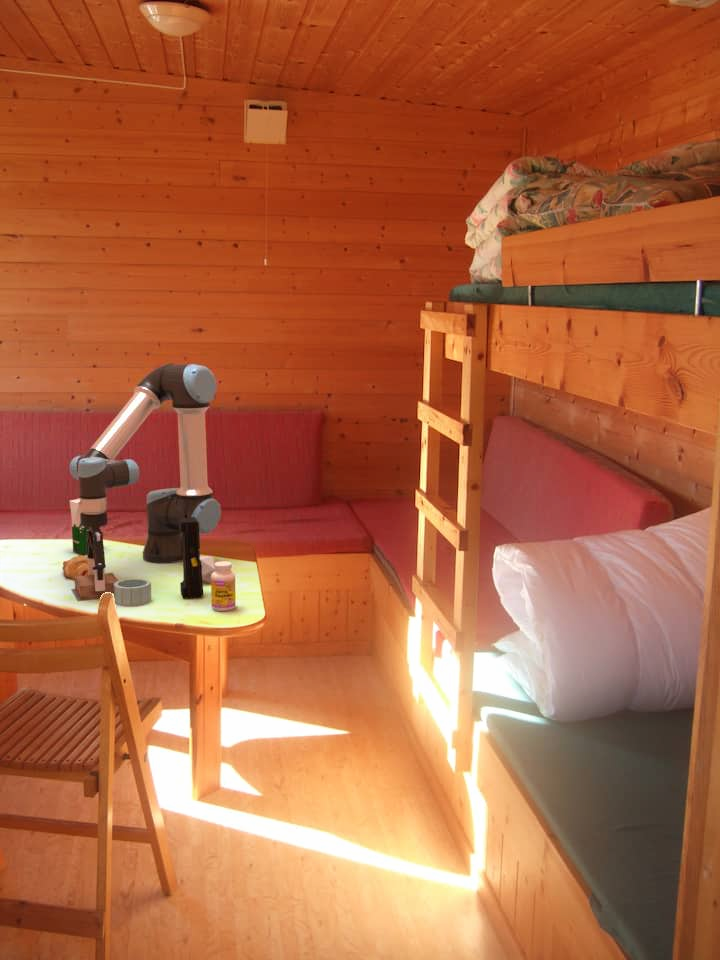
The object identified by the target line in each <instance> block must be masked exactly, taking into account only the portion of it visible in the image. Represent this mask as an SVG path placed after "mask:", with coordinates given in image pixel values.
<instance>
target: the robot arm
mask: <svg viewBox="0 0 720 960" xmlns="http://www.w3.org/2000/svg"><path fill="white" fill-rule="evenodd" d="M217 390H218V386H217V380H216V377H215V375H214V373H213V372H212V370H210V369H209V368H208V367H206V366H204V365H199V364H196V363H189V364H188V363H169V362H168V363H164V364H161V365H159V366H157V367H155V368H154V369H153V370H152V371H150V372H148V374H146V375H145V376H144V377H143V378H142V379H141V380H140V381H139V383H137V385H136V386H135V387H134V389H133V395H132V397H130V399H129V400H128V401H127V402H126V403H125V405H124V406H123V407H122V409H120V411H119V413H117V415H116V416H115V417H114V418H113V420H112V421H111V422H110V423H109V425H108V426H107V427H106V428H105V430H103V432H102V434H101V435H100V436H99V437H98V438H97V439H96V441H95V442H94V443H93V444H92V446H91V447H90V448H89V450H88V451H87V452H86V453H85V454H84V455H77V456H75V457H74V458H72V460H71V461H70V464H69V473H70V475H71V476H72V477H73V479H75V480H78V493H79V494H78V495H79V499H80V501H78V505H80V511H81V512H82V513H81V514H80V522H81V525H82V526H84V527H86V528H87V546H86V554H87V555H86V557H88V558H89V559H88V575H95V591H104V590H105V573H106V572H105V569H106V558H105V547H104V533H103V531H102V530H101V527H104V526H107V524H108V512H107V510H108V503H107V501H108V500H107V498H108V497H107V489H108V490H109V489H113V488H120V487H124V486H125V487H127V486H129V485H133V484H134V483H136V482H137V481H138V480H139V478H140V468H139V466H138V463H137V462H135V461H134V460H133V459H121V460H116V459H115V458H116V457H117V456H118V454H120V452H121V451H122V449H123V448H124V447H125V445H126V444H127V443H128V442H129V441H130V439H131V438H132V437H133V436H134V435H135V434H136V432H137V431H138V429H139V428H140V427H141V426H142V424H143V423H144V422H145V420H146V419H147V418H148V417H149V416H150V414H151V413H152V412H153V410H157V409H159V408H160V407H161V405H162V404H163V403H165V402H168V401H172V403H171V406H172V409H173V410H174V412H176V413H177V427H178V428H177V429H178V453H179V454H178V455H179V458H178V459H179V476H180V481H179V482H180V487H172V488H171V487H170V488H161V489H157V490H152V491H149V492H148V494H146V504H145V505H146V506H145V507H146V525H147V526H146V527H147V536H146V541H145V543H144V548H143V552H142V559H143V560H144V561H146V562H149V563H155V564H156V563H157V564H158V563H159V564H167V563H176V562H181V561H182V562H183V539H182V532H181V530H180V528H179V518H184V515H185V510H184V509H187V510H186V515H187V517H195V518H196V519H197V520H198V522H199V535H202V534H204V535H205V534H209V533H210V532H212V531H213V530H214V529H216V526H218V523H219V521H220V519H221V514H222V508H221V504H220V503H219V501H218V500H216V498H213V497H214V495H213V493H214V492H213V490H212V488H211V487H210V486H209V484H208V483H209V482H208V462H207V461H208V460H207V459H208V458H207V433H206V412H207V410H208V409H210V405H211V404H210V402H212V401H213V400H214V399H215V395H216V394H217Z"/></svg>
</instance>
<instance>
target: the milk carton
mask: <svg viewBox="0 0 720 960" xmlns="http://www.w3.org/2000/svg"><path fill="white" fill-rule="evenodd" d="M78 501H80V498H76V499H71V500H69V507H70V517H71V536H72V552H73V553H76V554H77V555H81V556H87V554H86V546H87V528H86V527H84V526H82V525H81V522H80V514H81V513H82V512H81V511H80V505H78Z"/></svg>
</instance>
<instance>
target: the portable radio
mask: <svg viewBox="0 0 720 960" xmlns="http://www.w3.org/2000/svg"><path fill="white" fill-rule="evenodd" d="M184 510H185V515H184V518H179V528H180V530H181V532H182V539H183V560H182V565H183V566H182V567H183V568H182V569H183V571H182V572H183V576H182V577H183V580H182V582H180V595H181V597H182V599H200V598H203V596H205V592H204V585H203V584H204V583H202V564H201V561H200V556H201V553H200V549H201V545H200V543H201V541H200V533H199V522H198V520H197V519H196V518H195V517H187V515H186V510H187V509H184Z"/></svg>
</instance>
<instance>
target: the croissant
mask: <svg viewBox="0 0 720 960" xmlns="http://www.w3.org/2000/svg"><path fill="white" fill-rule="evenodd" d="M88 559H89V558H88V557H87V555H80V554H77V555H76V556H73V557H72V558H70V559H67V560H65V561H63V562H62V570H63V574H64V576H65V577H67V578H69V579H70V580H74V581H75V578H74V577H76V576H85V575H88Z"/></svg>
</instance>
